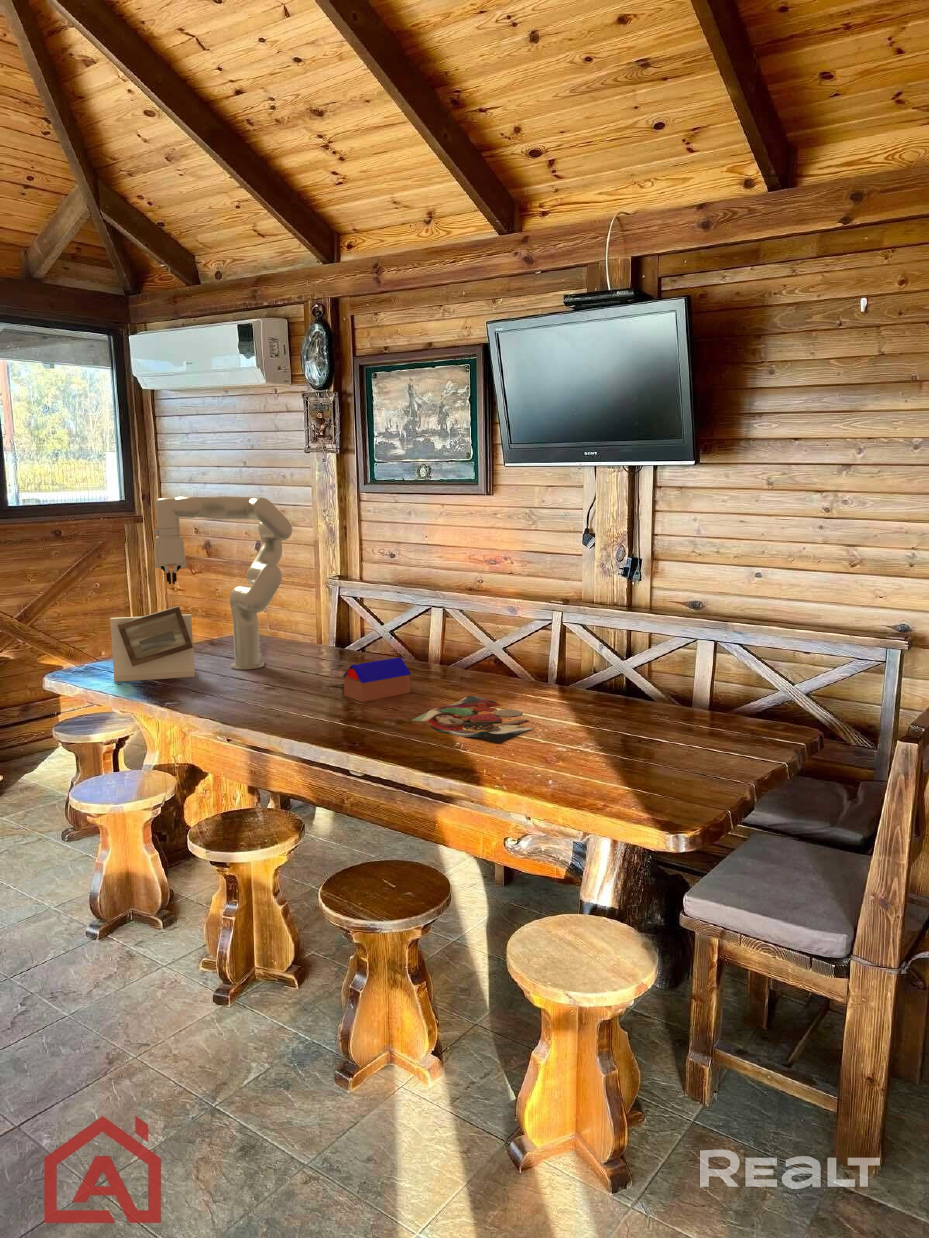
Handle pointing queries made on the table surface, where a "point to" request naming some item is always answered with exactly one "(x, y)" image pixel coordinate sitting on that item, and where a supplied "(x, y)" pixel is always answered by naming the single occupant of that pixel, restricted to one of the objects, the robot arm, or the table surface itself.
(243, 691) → the table surface
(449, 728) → the platter
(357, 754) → the table surface
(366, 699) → the house
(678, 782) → the table surface
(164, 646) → the picture frame
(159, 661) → the display board
